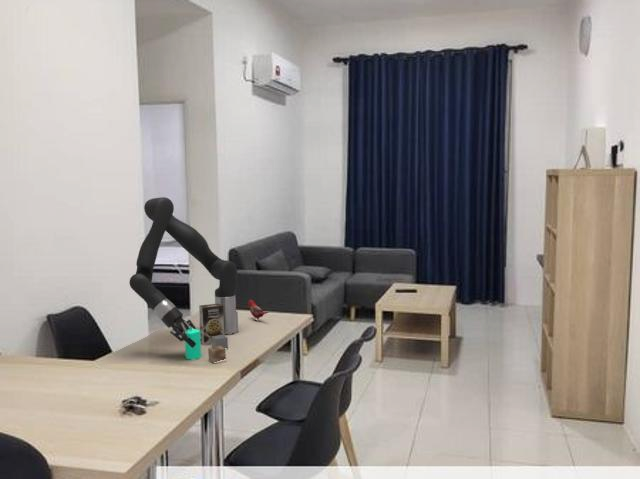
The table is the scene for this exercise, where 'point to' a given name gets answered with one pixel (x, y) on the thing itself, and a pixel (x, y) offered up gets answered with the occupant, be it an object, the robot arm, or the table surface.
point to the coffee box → (211, 322)
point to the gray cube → (219, 341)
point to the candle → (196, 350)
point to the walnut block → (216, 353)
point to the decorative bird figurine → (255, 310)
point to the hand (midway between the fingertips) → (197, 343)
